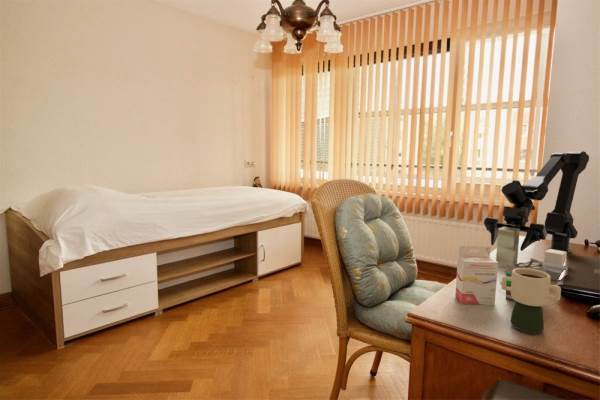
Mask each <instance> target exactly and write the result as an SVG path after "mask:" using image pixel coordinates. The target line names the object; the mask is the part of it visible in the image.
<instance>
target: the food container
mask: <svg viewBox="0 0 600 400" xmlns="http://www.w3.org/2000/svg"><path fill="white" fill-rule="evenodd" d="M529 259H530V261H527V262H518V263H517V264H516V265H515V266H510V265H507V264H506V267H504V268H505V269H504V273H505V276H507V277H512V270H514V269H517V268H528V269H535V270H539V271H542V272H545V273H546V269H545V266H544V264H543V263H542V262H543V261H542V262H541V260H539V259H538V260H537V259H536V258H533V257H531V258H529ZM506 286H507V287H511V281H507V282H506ZM505 300H506V301H508V302H511V303H515V302H516V301H515V300H514V299H512V297H511V291H507V290H505Z"/></svg>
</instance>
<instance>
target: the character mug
mask: <svg viewBox="0 0 600 400" xmlns="http://www.w3.org/2000/svg"><path fill="white" fill-rule="evenodd" d="M501 280H502V283H501V284H500V285H501V286H500V287H501V289H502V290H503V291H506V290H507V291H511V297H512V299H514V300H515V301H516V302H514V304H513V308H512V312H511V316H510V321H509V322H510V324H511V325H512V326H513V327H514V328H516V329H517V330H520V331H522V332H526V333H530V334H532V333H533V334H534V333H535V334H537V333H541V332H542V331H544V330H545V322H544V311H543V308H542V307H543V306H546V305H547V304H548V302H549V301H550V300H551V301H560V300H561V293H562V287H561V286H559V285H556V284H555V285H554V284H551V281H552V280H551V277H550V275H549V274H547V273H545V272H542V271H539V270H535V269H528V268H517V269H514V270H512V277H507V276H506V275H503V276H501ZM507 281H511V287H507V286H506V282H507ZM551 290H554V295H552V294H550V291H551Z"/></svg>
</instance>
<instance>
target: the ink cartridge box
mask: <svg viewBox="0 0 600 400" xmlns="http://www.w3.org/2000/svg"><path fill="white" fill-rule="evenodd" d="M473 250H476V251H473ZM456 263H457V264H456V266H457V267H456V281H455V298H456V299H457V300H458V301H459V303H460V304H463V305H464V304H465V305H481V306H482V305H484V306H485V305H487V306H495V305H496V293H497V280H498V279H497V278H498V269H499V265H498V262H497V261H496V259H494V258H492V257H491V246H490V245H459V249H458V256H457V262H456Z"/></svg>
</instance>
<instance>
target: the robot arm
mask: <svg viewBox="0 0 600 400" xmlns="http://www.w3.org/2000/svg"><path fill="white" fill-rule="evenodd" d="M589 160H590V156H589V154H587V152H586V151H584V150H583V151H582V150H581V151H572V150H571V151H563V152H554V153H552V154H551V155H550V156H549V159H548V161H546V163H545V164H544V165H543V166H542V168H541V169H540V170H539V171H538V173H537V174H536V175H535V176H534V177H532V178H530V179H528V180H527V181H525V182H524V183H523V184H521V181H519V180H517V179H515V180H513V181H511V182H508V183H507V184H505V185H503V186H502V188H501V193H502V195H503V196H504V197H505V198H506V201H507V202H509V204H511V205H513V206H503V207H504V208H503V211H502V217H504V218H503V221H504V222H500V221H499V219H498V218H497V217H496V218H495V217H489V216H487V217H485V218H484V220H483V224H484V226H485V229H486V231H488V232H489V233H490V244H491V246H494V244H495V243H496V241H497V239H498V229H499V228H502V227H510V228H517V229H520V232H519V233H521V232H522V233H526V235H525V237H524V239H523V242H522V243H521V246H520V248H519V249H520V252H523V251H525V249H526V248H528V247H529V246H531V245H533V244H534V243H536V242H540V241H541V240H543V241H545V240H546V238H547V236H548V235H551V243H550V247H549V248H548V249H553V250H559V251H565V252H567V255H568V254H569V253H571V252H572V249H571V248H570V241H571V239H576V238H577V236H578V233H579V232H578V230H577V229H576V227H575V226H574V217H573V214H572V213H571V208H572V206H573V205H572V204H573V200H574V196H575V193H576V187H577V182H578V179H579V175H580V174H582V172H584V171H585V170H586V168H587V165H588V163H589V162H590V161H589ZM560 171H561V172H562V175H561V179H560V182H559V188H558V192H557V196H556V197H557V198H556V200H555V204H554V209H553V210H552V211H551V212H547V213H546V217H545V221H544V224H543V223H535V222H530V224H529V226H526V224H527V223H528V222H529V217H530V214H531V212H532V211H535V210H536V206H535V205H534V202H533V201H542V200H544V199H545V198H546V195H547V193H548V192H549V185H550V183H551V182H552V180H553V179H554V178H555V177H556V176H557V175H558V173H559V172H560Z"/></svg>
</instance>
